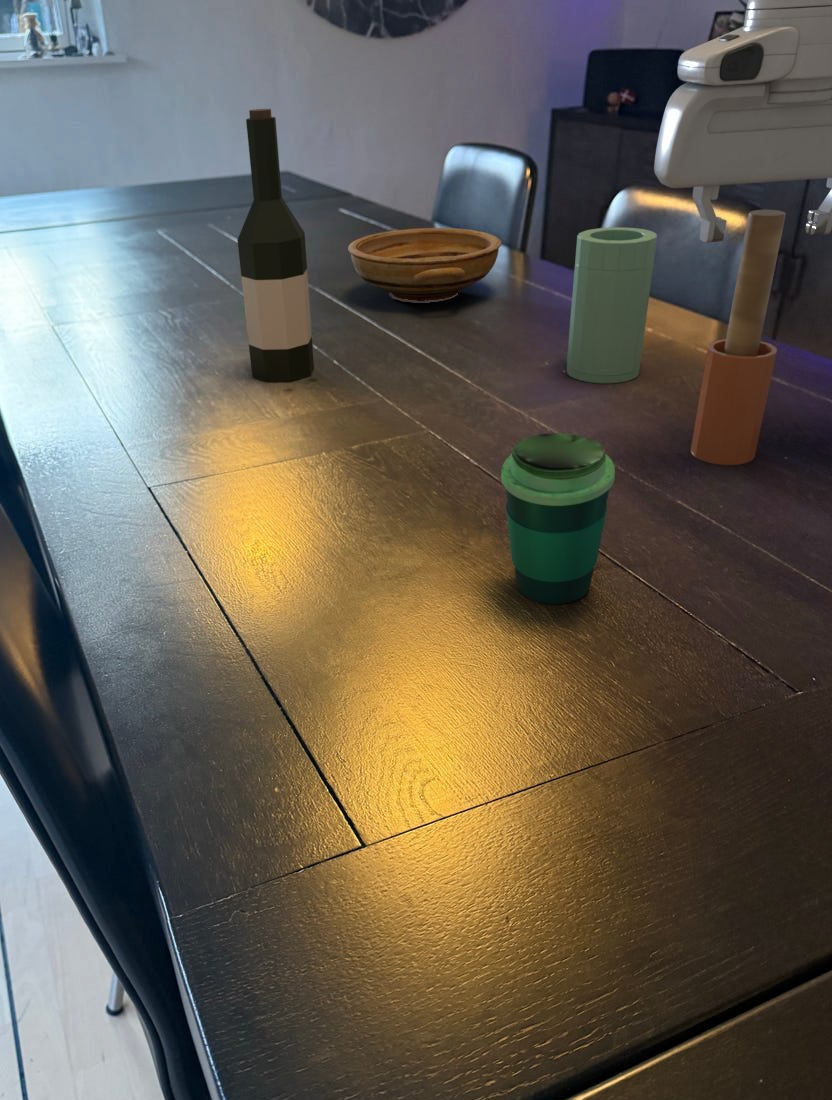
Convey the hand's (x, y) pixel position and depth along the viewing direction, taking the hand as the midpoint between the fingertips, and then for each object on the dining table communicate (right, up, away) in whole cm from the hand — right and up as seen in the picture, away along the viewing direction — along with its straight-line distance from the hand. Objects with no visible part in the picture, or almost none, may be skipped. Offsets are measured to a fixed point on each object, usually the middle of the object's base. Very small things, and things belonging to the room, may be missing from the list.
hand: (764, 237), depth 81 cm
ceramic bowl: (-24, +21, +70) cm, 77 cm away
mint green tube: (-5, -2, +35) cm, 35 cm away
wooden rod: (+1, -16, +11) cm, 20 cm away
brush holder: (+1, -17, +11) cm, 21 cm away
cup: (-21, -32, -8) cm, 39 cm away
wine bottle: (-45, 0, +40) cm, 61 cm away
